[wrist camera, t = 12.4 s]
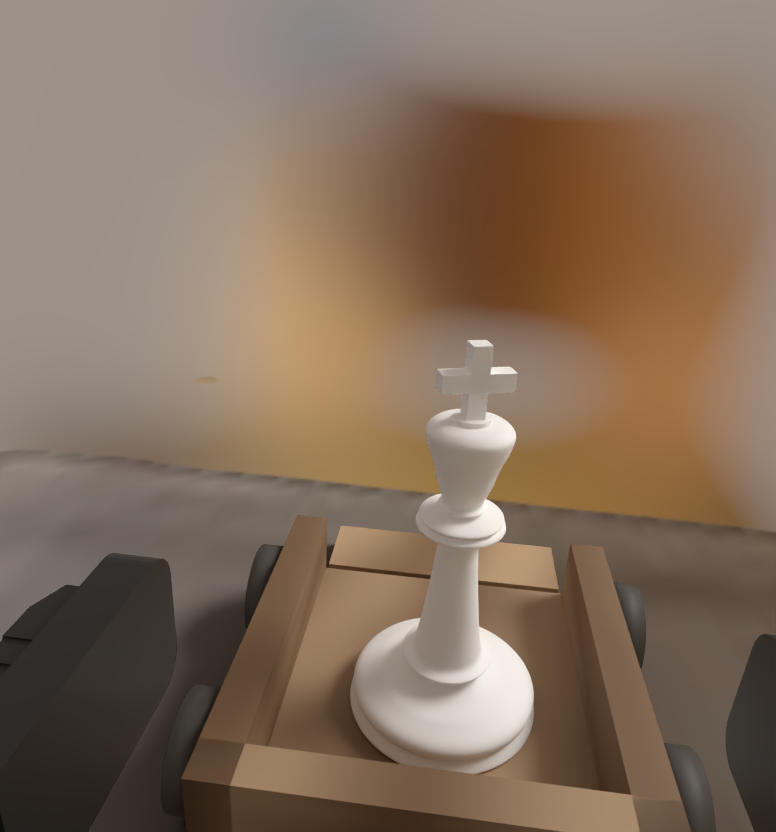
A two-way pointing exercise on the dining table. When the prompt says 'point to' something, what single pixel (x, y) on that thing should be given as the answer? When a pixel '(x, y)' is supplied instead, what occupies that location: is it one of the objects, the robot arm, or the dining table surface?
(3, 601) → the dining table surface
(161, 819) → the dining table surface
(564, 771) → the truck bed
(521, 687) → the chess piece
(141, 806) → the dining table surface
